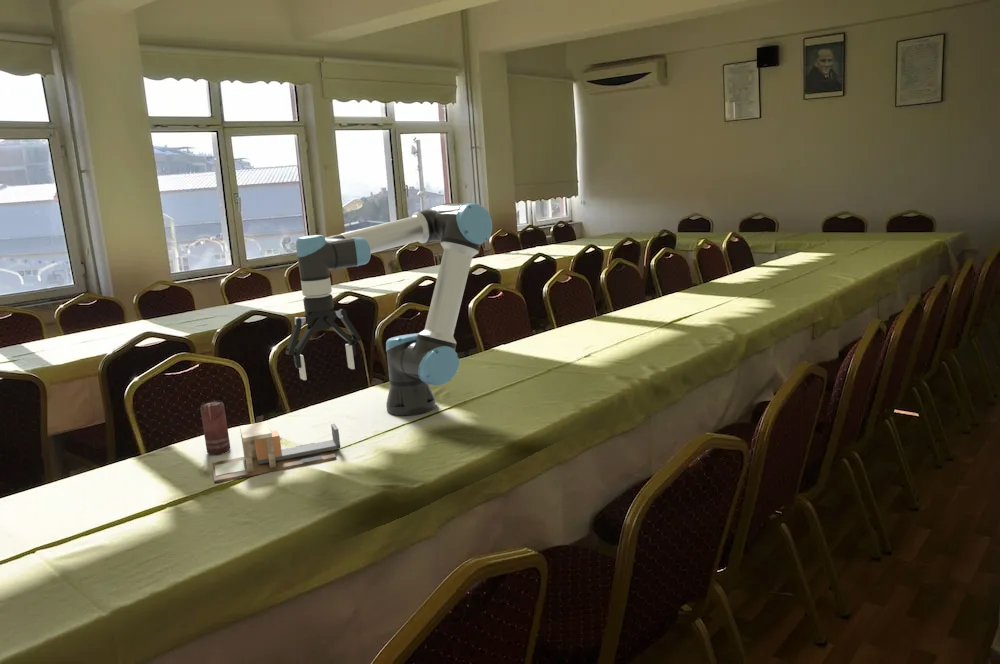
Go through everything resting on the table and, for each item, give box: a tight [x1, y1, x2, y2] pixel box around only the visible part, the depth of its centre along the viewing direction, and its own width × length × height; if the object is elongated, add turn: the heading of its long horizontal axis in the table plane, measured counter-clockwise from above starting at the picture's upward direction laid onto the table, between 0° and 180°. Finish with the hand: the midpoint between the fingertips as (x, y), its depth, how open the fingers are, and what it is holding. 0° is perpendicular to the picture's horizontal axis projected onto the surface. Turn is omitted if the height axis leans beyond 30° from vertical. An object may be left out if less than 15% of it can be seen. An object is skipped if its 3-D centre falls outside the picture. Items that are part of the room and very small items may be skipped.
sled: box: [254, 423, 341, 464], centre depth 205 cm, size 21×5×6 cm, turn 112°
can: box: [199, 400, 231, 456], centre depth 213 cm, size 6×6×14 cm
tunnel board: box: [212, 420, 337, 483], centre depth 203 cm, size 30×14×10 cm, turn 112°
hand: (327, 373), depth 208 cm, fingers open, 13 cm apart
